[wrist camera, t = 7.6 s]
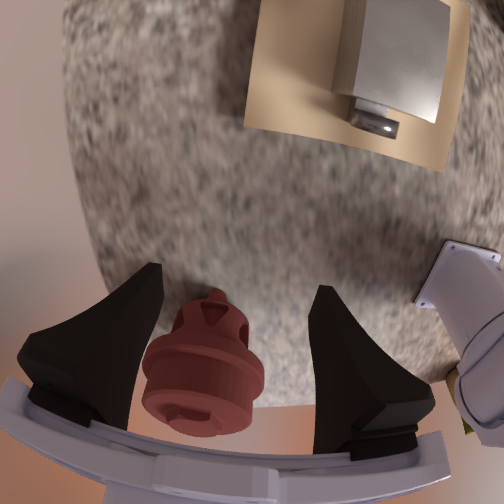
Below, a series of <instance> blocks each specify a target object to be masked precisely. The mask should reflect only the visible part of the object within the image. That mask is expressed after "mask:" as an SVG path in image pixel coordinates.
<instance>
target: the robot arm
mask: <svg viewBox="0 0 504 504" xmlns="http://www.w3.org/2000/svg"><path fill="white" fill-rule="evenodd" d="M452 246H453V247H452ZM451 247H452V248H451ZM500 258H501V255H500V253H498V252H494V251H490V250H487V249H483V248H479V247H475V246H471V245H466V244H462V243H458V242H454V241H446V242H445V244H444V246H443V248H442V250H441V252H440V254H439V256H438V258H437V260H436V262H435V264H434V266H433V268H432V270H431V272H430V274H429V276H428V278H427V280H426V282H425V284H424V286H423V287H422V289H421V291H420V293H419V295H418V296H417V298H416V300H415V302H414V305H415V306H416V307H422V308H436V310H437V312H438V313H439V315H440V317H441V319H442V321H443V323H444V325H445V327H446V329H447V331H448V333H449V335H450V337H451V339H452V341H453V343H454V345H455V347H456V349H457V352H458V354H459V356H460V358H461V361H460V363H459V364H458V365H457V369H458V371H459V374H460V375H459V376H458V378H457V379H456V382H455V388H454V391H455V402H456V406H457V409H458V411H459V413H460V415H461V416H462V418H463V419H464V420H465V421H466V423H468V424H469V425H470V426H471V427H472V428H473V430H474V431H475V433H476V434H477V436H478V437H479V439H480V441H481V443H482V445H484V446H490V447H500V448H504V270H503V268H502V267H501V266H500V265H499V264H498V262H499V260H500ZM163 300H164V290H163V278H162V266H161V264H158V263H152V262H149V263H147V264H146V265H145V266H144V267H142V268H141V269H140V270H139V271H138V272H137V273H135V274H134V275H133V276H132V277H131V278H130V279H128V280H127V281H126V282H125V283H124V284H122V285H121V286H120V287H119V288H118V289H116V290H115V291H114V292H112V293H111V294H110V295H108V296H107V297H106V298H104V299H103V300H101V301H100V302H99V303H97V304H95V305H94V306H92V307H91V308H89V309H88V310H86V311H84V312H82V313H80V314H78V315H76V316H75V317H73V318H71V319H69V320H67V321H64V322H62V323H60V324H58V325H55V326H53V327H51V328H47V329H44V330H41V331H38V332H35V333H32V334H30V335H29V337H28V338H27V340H26V342H25V343H24V345H23V347H22V348H21V350H20V351H19V353H18V355H17V360H18V363H19V365H20V366H21V368H22V369H23V370H24V372H25V373H26V374H27V376H28V377H29V378H30V379H31V381H32V382H33V383H34V384H33V386H32V388H30V387H29V386H27V385H26V384H24V383H22V382H20V381H18V380H17V379H15V378H13V377H11V376H8V378H7V380H6V382H5V384H4V386H3V388H2V390H1V392H0V428H1V429H3V430H4V431H5V432H6V433H8V434H9V435H10V436H12V437H13V438H14V439H16V440H17V441H19V442H20V443H22V444H23V445H25V446H27V447H28V448H30V449H32V450H33V451H35V452H37V453H39V454H40V455H42V456H44V457H46V458H48V459H49V460H51V461H53V462H56V463H57V464H59V465H61V466H63V467H65V468H67V469H69V470H71V471H73V472H75V473H78V474H80V475H82V476H84V477H87V478H89V479H91V480H94V481H96V482H99V483H101V484H104V485H106V490H105V494H104V499H103V503H102V504H372V503H376V502H381V501H385V500H388V499H392V498H396V497H399V496H403V495H406V494H410V493H413V492H416V491H419V490H421V489H424V488H426V487H429V486H431V485H433V484H436V483H438V482H440V481H442V480H444V479H447V478H449V477H450V476H451V470H450V466H449V461H448V456H447V452H446V448H445V444H444V440H443V436H442V432H441V431H436V432H432V433H428V434H424V435H421V436H419V437H417V438H416V434H415V432H416V431H418V425H417V423H418V422H419V421H420V420H421V419H423V418H424V417H425V416H426V415H427V414H429V413H430V412H431V411H432V410H433V408H434V406H435V399H434V396H433V393H432V390H431V387H430V385H429V384H427V383H425V382H424V381H422V380H420V379H419V378H417V377H416V376H414V375H413V374H411V373H410V372H408V371H407V370H406V369H404V368H403V367H402V366H400V365H399V364H398V363H397V362H395V361H394V360H393V359H392V358H391V357H390V356H389V355H388V354H386V353H385V352H384V351H383V350H382V349H381V348H380V347H379V346H378V345H377V344H376V343H375V342H374V341H373V340H372V338H371V337H370V336H369V335H368V334H367V333H366V332H365V330H364V329H363V328H362V327H361V325H360V324H359V323H358V322H357V320H356V319H355V318H354V316H353V315H352V314H351V312H350V311H349V310H348V308H347V307H346V305H345V304H344V303H343V301H342V300H341V298H340V297H339V295H338V294H337V292H336V291H335V290H334V288H333V287H332V286H325V285H319V288H318V291H317V293H316V296H315V299H314V302H313V305H312V307H311V310H310V313H309V316H308V329H309V341H310V347H311V354H312V361H313V367H314V374H315V387H316V415H315V435H314V446H313V455H272V454H271V455H270V454H253V453H240V452H229V451H221V450H213V449H207V448H199V447H193V446H188V445H182V444H177V443H172V442H168V441H163V440H159V439H154V438H151V437H146V436H143V435H139V434H135V433H132V432H128V431H127V426H128V419H129V412H130V406H131V400H132V395H133V390H134V386H135V382H136V377H137V373H138V369H139V366H140V362H141V359H142V356H143V353H144V351H145V348H146V346H147V343H148V341H149V339H150V336H151V334H152V331H153V329H154V327H155V324H156V322H157V319H158V317H159V314H160V311H161V307H162V304H163Z"/></svg>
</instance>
